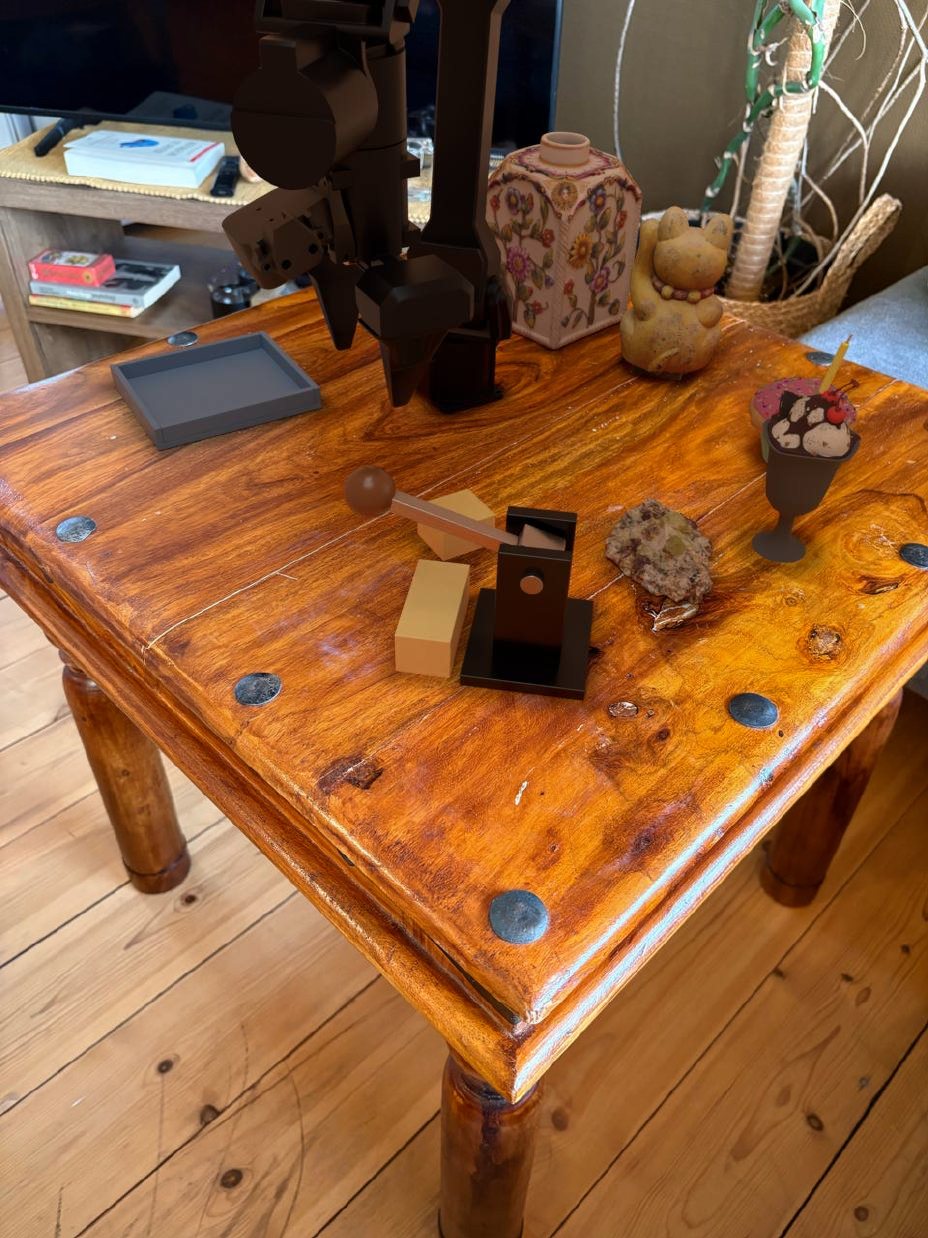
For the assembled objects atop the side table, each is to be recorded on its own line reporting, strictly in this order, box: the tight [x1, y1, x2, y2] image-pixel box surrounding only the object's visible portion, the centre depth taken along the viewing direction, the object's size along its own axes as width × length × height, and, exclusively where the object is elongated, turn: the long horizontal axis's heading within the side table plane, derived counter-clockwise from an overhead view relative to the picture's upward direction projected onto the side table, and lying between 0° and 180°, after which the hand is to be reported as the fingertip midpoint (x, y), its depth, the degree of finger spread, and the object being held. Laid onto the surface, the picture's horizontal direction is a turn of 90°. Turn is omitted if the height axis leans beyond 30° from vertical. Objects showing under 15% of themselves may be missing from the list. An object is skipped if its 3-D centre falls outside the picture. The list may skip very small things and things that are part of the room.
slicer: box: [459, 505, 595, 702], centre depth 64 cm, size 8×9×10 cm
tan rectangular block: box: [394, 558, 471, 679], centre depth 66 cm, size 8×4×4 cm, turn 171°
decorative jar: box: [486, 131, 643, 351], centre depth 100 cm, size 12×12×18 cm
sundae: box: [751, 378, 862, 564], centre depth 71 cm, size 7×7×15 cm
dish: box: [109, 330, 323, 452], centre depth 91 cm, size 15×13×2 cm
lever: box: [343, 464, 566, 554], centre depth 61 cm, size 14×3×3 cm, turn 81°
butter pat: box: [416, 488, 496, 562], centre depth 75 cm, size 4×4×3 cm
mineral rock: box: [605, 498, 714, 605], centre depth 73 cm, size 11×4×8 cm
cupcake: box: [748, 333, 859, 464], centre depth 81 cm, size 9×8×12 cm
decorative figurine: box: [619, 205, 734, 382], centre depth 92 cm, size 10×8×15 cm
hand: (370, 376), depth 69 cm, fingers open, 9 cm apart
